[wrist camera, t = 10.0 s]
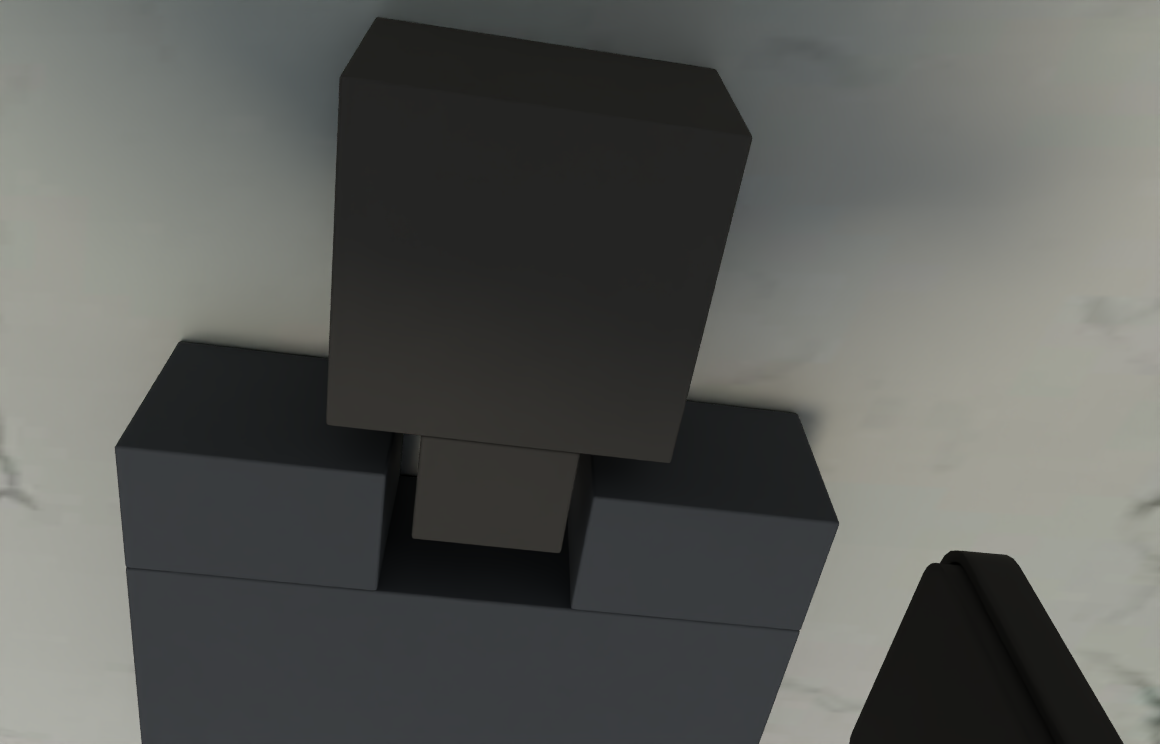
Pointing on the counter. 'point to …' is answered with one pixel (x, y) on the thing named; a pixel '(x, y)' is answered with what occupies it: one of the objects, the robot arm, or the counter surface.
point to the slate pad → (450, 578)
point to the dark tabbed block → (522, 263)
